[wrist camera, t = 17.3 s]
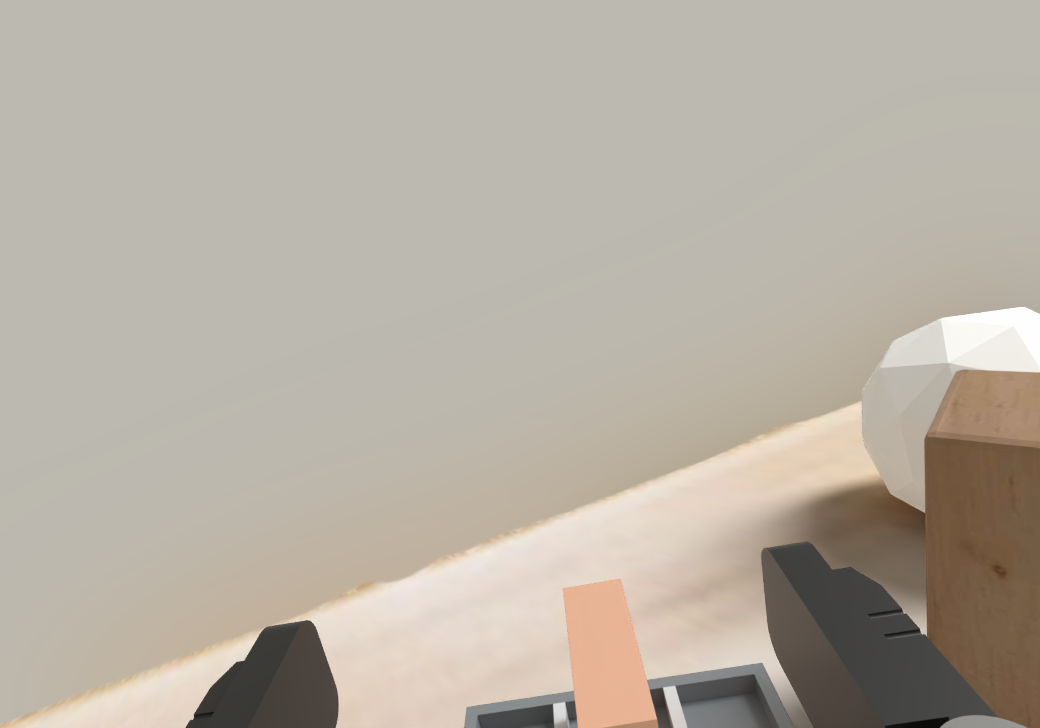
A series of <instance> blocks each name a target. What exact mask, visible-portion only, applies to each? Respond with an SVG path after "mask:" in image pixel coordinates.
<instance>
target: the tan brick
mask: <svg viewBox="0 0 1040 728" xmlns="http://www.w3.org/2000/svg"><path fill="white" fill-rule="evenodd" d="M563 595H564V604H565V613H566V622H567V631H568V640H569V650H570V659H571V668H572V677H573V686H574V696H575V705H576V714H577V723H578V728H658V722H657V717H656V713H655V709H654V705H653V702H652V698H651V694H650V690H649V686H648V682H647V678H646V675H645V671H644V667H643V663H642V659H641V655H640V651H639V648H638V644H637V640H636V636H635V632H634V628H633V625H632V621H631V617H630V613H629V609H628V605H627V601H626V598H625V594H624V590H623V586H622V582H621V579H616V580H610V581H604V582H599V583H593V584H587V585H581V586H575V587H569V588H563Z"/></svg>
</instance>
